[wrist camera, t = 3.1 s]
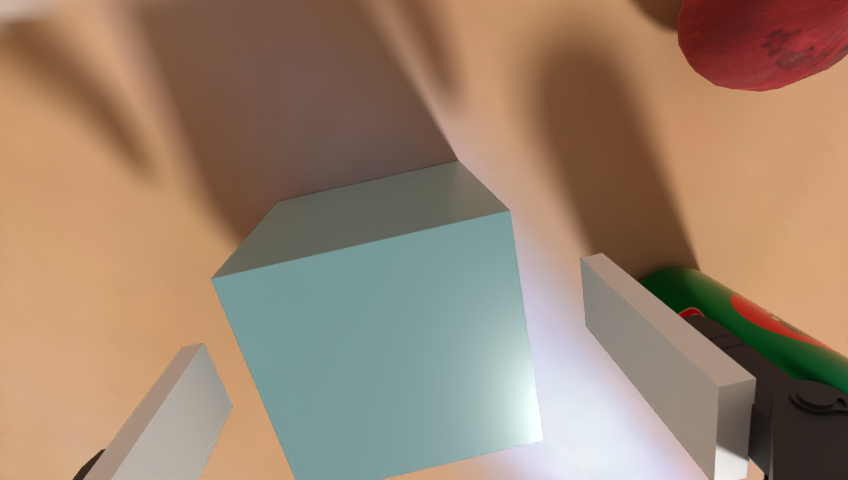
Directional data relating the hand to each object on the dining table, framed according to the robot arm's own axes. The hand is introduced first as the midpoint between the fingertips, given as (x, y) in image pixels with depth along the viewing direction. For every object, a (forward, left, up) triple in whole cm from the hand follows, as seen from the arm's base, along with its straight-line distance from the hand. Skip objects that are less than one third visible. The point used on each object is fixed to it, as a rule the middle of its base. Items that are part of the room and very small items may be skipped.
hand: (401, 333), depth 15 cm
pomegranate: (+16, +8, -7) cm, 19 cm away
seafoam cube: (0, 0, -7) cm, 7 cm away
